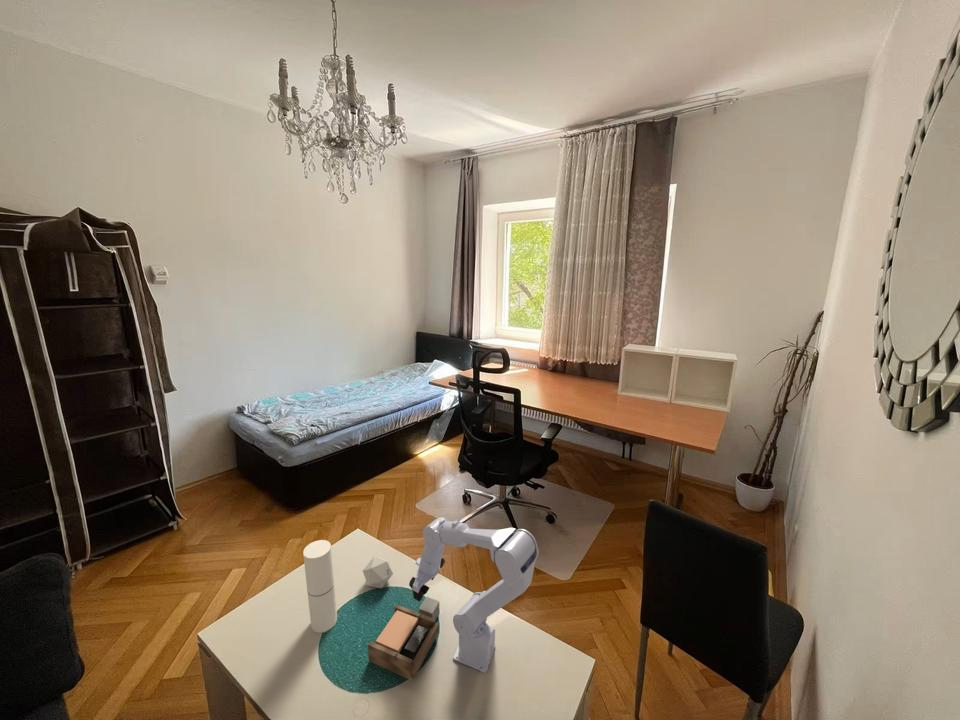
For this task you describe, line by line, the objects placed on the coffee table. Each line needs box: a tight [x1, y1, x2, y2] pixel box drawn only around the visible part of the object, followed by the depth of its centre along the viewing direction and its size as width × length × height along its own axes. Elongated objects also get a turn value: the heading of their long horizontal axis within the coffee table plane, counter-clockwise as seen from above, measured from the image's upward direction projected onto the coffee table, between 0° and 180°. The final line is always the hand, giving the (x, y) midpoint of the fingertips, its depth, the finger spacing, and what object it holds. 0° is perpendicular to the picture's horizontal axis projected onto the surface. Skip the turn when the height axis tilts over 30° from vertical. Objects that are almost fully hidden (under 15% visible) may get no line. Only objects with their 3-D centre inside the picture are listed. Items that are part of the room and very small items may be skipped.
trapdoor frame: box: [367, 604, 440, 681], centre depth 102 cm, size 14×13×6 cm
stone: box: [418, 596, 441, 620], centre depth 112 cm, size 4×4×4 cm
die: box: [362, 556, 394, 589], centre depth 124 cm, size 8×9×10 cm
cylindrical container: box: [302, 539, 338, 634], centre depth 107 cm, size 7×7×25 cm
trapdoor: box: [375, 610, 428, 659], centre depth 102 cm, size 11×10×2 cm
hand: (423, 588), depth 110 cm, fingers open, 7 cm apart
